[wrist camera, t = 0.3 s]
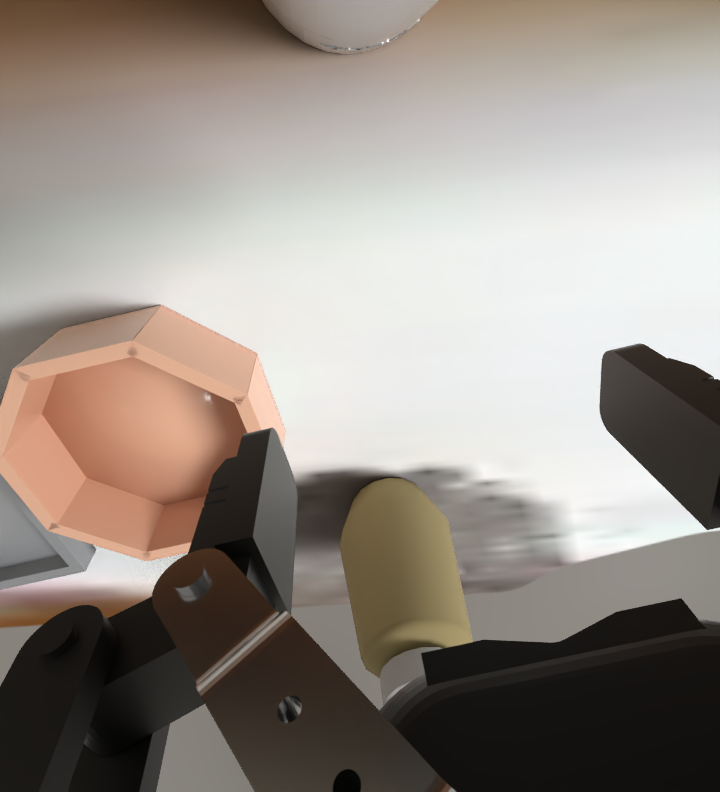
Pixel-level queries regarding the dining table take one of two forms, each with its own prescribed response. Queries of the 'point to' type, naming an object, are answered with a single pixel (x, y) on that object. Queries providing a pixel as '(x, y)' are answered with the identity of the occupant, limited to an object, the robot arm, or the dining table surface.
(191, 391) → the bowl
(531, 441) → the dining table surface
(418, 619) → the squeeze bottle
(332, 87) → the dining table surface
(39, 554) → the parts tray
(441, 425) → the dining table surface
